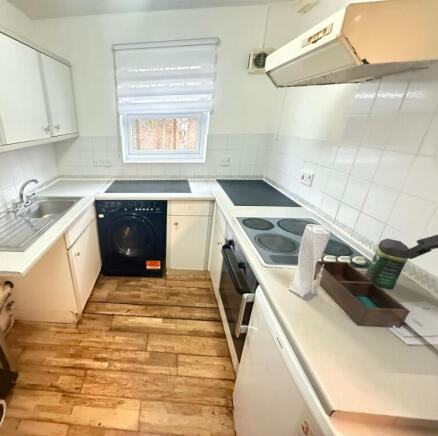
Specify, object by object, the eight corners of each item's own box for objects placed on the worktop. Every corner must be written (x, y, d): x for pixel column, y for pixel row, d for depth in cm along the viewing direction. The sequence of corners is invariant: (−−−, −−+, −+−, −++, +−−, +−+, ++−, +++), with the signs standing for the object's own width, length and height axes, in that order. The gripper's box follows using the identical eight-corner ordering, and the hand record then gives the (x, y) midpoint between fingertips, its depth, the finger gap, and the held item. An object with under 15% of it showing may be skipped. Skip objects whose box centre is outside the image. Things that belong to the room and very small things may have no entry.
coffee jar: (394, 295, 86) (416, 251, 79) (365, 288, 90) (384, 245, 83) (388, 281, 94) (408, 240, 86) (362, 275, 98) (379, 235, 91)
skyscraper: (305, 302, 83) (329, 231, 72) (283, 289, 90) (301, 222, 79) (317, 294, 87) (341, 225, 76) (295, 282, 94) (314, 216, 83)
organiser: (341, 275, 97) (347, 261, 95) (400, 328, 73) (410, 311, 70) (310, 274, 98) (314, 260, 96) (357, 325, 74) (365, 309, 71)
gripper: (567, 209, 56) (470, 246, 74) (449, 207, 59) (383, 243, 77) (595, 237, 52) (485, 269, 71) (468, 234, 55) (393, 265, 73)
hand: (432, 255), depth 74 cm, fingers open, 13 cm apart
